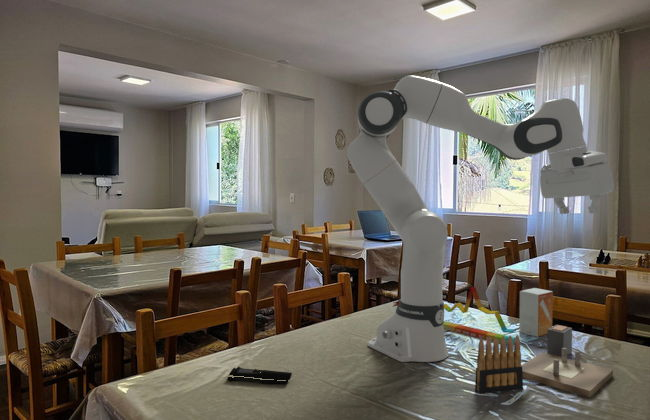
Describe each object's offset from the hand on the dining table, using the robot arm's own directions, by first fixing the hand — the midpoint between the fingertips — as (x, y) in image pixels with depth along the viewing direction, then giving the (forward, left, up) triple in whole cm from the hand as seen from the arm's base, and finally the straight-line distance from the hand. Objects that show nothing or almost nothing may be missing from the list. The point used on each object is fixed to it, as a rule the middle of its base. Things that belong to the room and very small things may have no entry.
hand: (579, 213), depth 115 cm
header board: (+2, -15, -38) cm, 41 cm away
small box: (-16, +13, -38) cm, 44 cm away
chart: (-31, -3, -39) cm, 50 cm away
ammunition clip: (-5, -33, -38) cm, 51 cm away
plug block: (-4, -1, -38) cm, 38 cm away
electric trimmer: (-46, -69, -39) cm, 91 cm away
